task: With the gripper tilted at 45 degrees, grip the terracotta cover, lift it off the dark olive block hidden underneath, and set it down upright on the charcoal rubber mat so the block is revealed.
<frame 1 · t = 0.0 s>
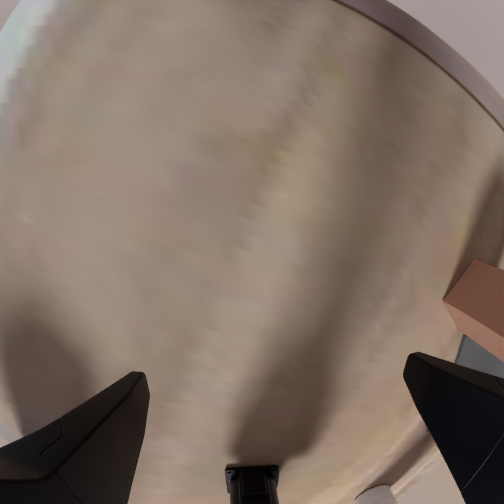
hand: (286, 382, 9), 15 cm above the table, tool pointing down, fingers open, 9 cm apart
terracotta cover: (467, 296, 26), on the table
charcoal mat: (481, 374, 29), on the table
water bottle: (372, 495, 33), on the table
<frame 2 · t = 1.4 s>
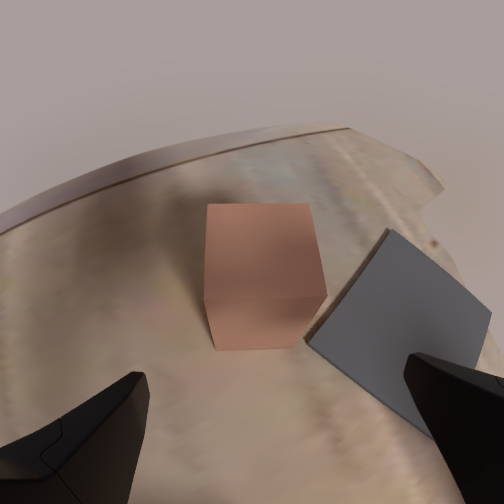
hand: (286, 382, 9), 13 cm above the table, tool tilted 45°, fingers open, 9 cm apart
terracotta cover: (252, 314, 24), on the table
charcoal mat: (419, 329, 23), on the table
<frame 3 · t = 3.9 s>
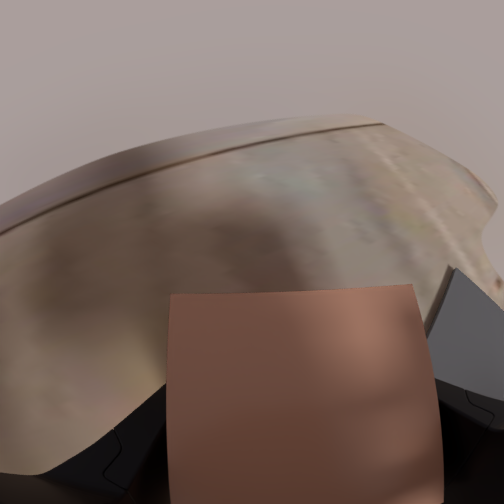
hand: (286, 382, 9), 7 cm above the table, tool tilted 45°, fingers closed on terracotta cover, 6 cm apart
terracotta cover: (267, 422, 13), on the table, touching gripper
charcoal mat: (486, 408, 13), on the table
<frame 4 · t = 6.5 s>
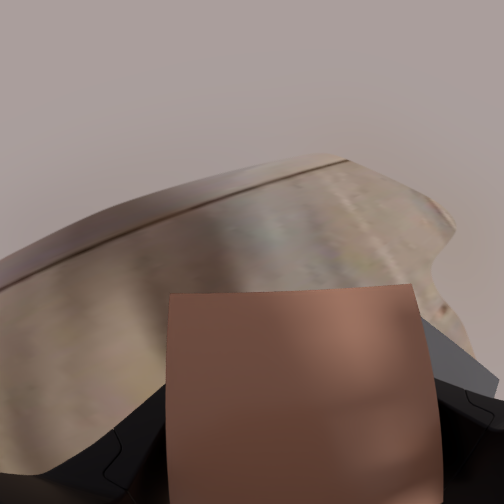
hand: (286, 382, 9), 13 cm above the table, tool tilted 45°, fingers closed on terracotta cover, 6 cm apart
terracotta cover: (267, 422, 13), point 7 cm above the table, touching gripper
charcoal mat: (421, 416, 19), on the table
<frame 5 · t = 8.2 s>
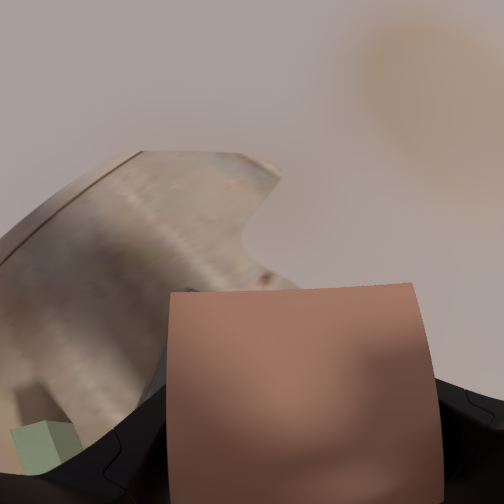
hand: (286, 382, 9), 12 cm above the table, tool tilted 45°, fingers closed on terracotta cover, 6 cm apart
terracotta cover: (267, 422, 13), point 5 cm above the table, touching gripper
olive block: (64, 451, 15), on the table
charcoal mat: (259, 420, 18), on the table
when the fingers open (8 cm above the table, at t = 9.4 s): terracotta cover drops 1 cm, resting on charcoal mat.
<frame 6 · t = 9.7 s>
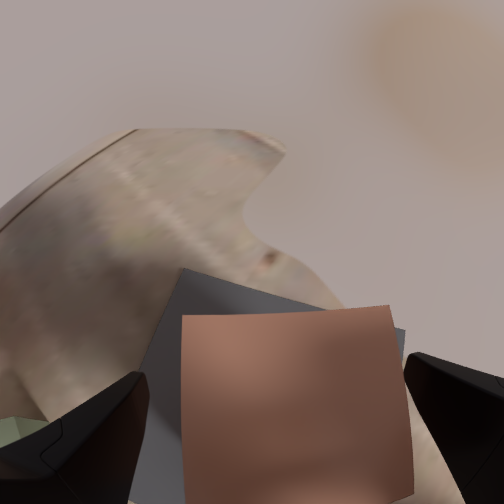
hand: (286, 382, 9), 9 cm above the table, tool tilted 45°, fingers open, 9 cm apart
terracotta cover: (265, 421, 15), resting on charcoal mat
olive block: (39, 453, 12), on the table
charcoal mat: (263, 422, 15), on the table
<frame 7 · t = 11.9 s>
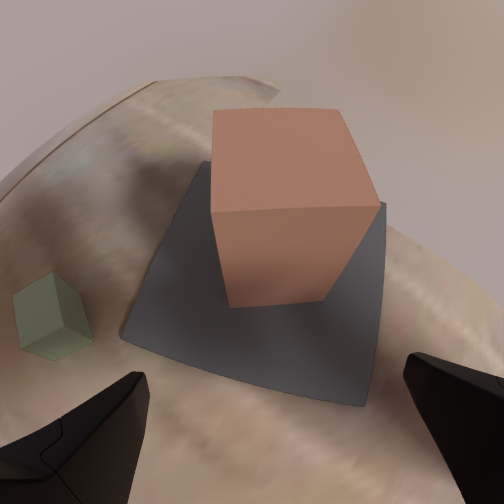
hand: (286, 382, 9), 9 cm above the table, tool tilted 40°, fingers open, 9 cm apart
terracotta cover: (272, 262, 20), resting on charcoal mat
olive block: (66, 327, 18), on the table
charcoal mat: (271, 266, 20), on the table
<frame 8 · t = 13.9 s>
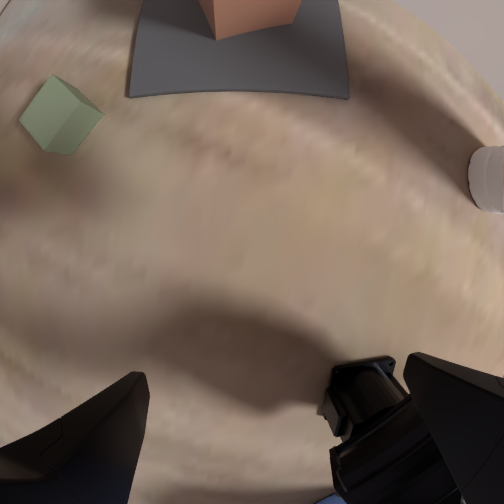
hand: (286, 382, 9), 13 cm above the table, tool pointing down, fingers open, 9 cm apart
terracotta cover: (241, 4, 16), resting on charcoal mat
olive block: (73, 120, 18), on the table
charcoal mat: (241, 7, 17), on the table
water bottle: (489, 174, 21), on the table
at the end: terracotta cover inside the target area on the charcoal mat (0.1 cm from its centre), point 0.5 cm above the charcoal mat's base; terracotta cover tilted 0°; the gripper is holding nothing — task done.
